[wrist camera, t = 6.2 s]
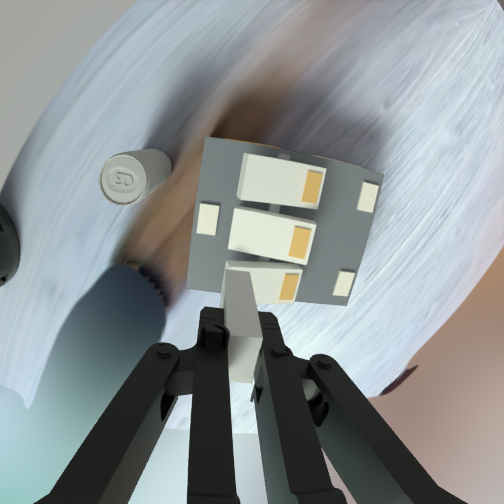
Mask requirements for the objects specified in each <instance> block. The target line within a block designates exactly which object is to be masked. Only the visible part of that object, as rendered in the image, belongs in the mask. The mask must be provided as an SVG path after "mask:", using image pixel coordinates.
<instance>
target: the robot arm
mask: <svg viewBox="0 0 504 504" xmlns="http://www.w3.org/2000/svg"><path fill="white" fill-rule="evenodd" d="M19 258H20V250H19V242H18V237H17V233H16V230H15V227H14V225H13V222H12V220H11V218H10V216H9V215H8V213H7V212H6V210H5V209H4V208H3V206H2V205H1V204H0V287H1V286H3V285H4V284H6V283H7V282H8V281H9V280H11V279H12V278H13V277H14V275H15V273H16V271H17V269H18V265H19ZM253 377H254V380H255V384H254V388H253V392H252V395H251V400H250V402H253V399H254V403H255V411H256V419H257V427H258V434H259V442H260V449H261V457H262V464H263V471H264V478H265V486H266V493H267V500H268V504H347V501H346V498H345V496H344V494H343V492H342V491H341V490H340V489H338V488H334V486H333V485H332V483H331V479H330V476H329V472H328V469H327V466H326V463H325V459H324V456H323V452H322V449H323V451H324V452H325V454H326V455H327V457H328V459H329V460H330V462H331V464H332V465H333V467H334V468H335V470H336V472H337V473H338V475H339V476H340V478H341V479H342V481H343V483H344V484H345V486H346V487H347V489H348V490H349V492H350V493H351V495H352V496H353V498H354V500H355V501H356V503H357V504H468V503H466V502H464V501H462V500H460V499H459V498H457V497H455V496H454V495H452V494H451V493H449V492H447V491H446V490H444V489H442V488H441V487H439V486H438V485H437V484H436V483H435V481H434V480H433V479H432V478H431V477H430V475H429V474H428V473H427V472H426V471H425V469H424V468H423V467H422V466H421V464H420V463H419V462H418V461H417V460H416V458H415V457H414V456H413V455H412V453H411V452H410V451H409V450H408V449H407V447H406V446H405V445H404V444H403V442H402V441H401V440H400V439H399V438H398V436H397V435H396V434H395V433H394V431H393V430H392V429H391V428H390V427H389V425H388V424H387V423H386V422H385V421H384V419H383V418H382V417H381V416H380V414H379V413H378V412H377V411H376V410H375V408H374V407H373V406H372V405H371V404H370V402H369V401H368V400H367V398H366V397H365V396H364V395H363V393H362V392H361V391H360V390H359V389H358V387H357V386H356V385H355V384H354V382H353V381H352V380H351V379H350V377H349V376H348V375H347V374H346V373H345V371H344V370H343V369H342V368H341V366H340V365H339V364H338V363H337V362H336V360H334V359H333V358H332V357H330V356H328V355H324V354H316V355H313V356H312V357H311V358H310V360H305V359H301V358H298V357H296V356H294V355H293V353H292V351H291V349H290V348H288V347H287V346H285V344H284V340H283V337H282V333H281V330H280V327H279V323H278V320H277V318H276V317H275V315H274V314H273V313H271V312H260V311H258V310H257V305H256V300H255V295H254V290H253V285H252V280H251V275H250V272H247V271H238V270H230V269H225V274H224V281H223V288H222V295H221V302H220V308H214V307H206V306H205V307H204V308H203V309H202V310H201V311H200V320H199V329H198V337H197V343H196V344H195V346H193V347H192V348H189V349H186V350H178V348H177V347H176V346H174V345H172V344H170V343H165V342H161V343H156V344H153V345H152V346H151V347H149V349H148V350H147V351H146V353H145V354H144V356H143V357H142V358H141V360H140V361H139V362H138V364H137V366H136V367H135V368H134V370H133V371H132V372H131V374H130V375H129V377H128V378H127V379H126V381H125V382H124V384H123V385H122V387H121V388H120V389H119V391H118V392H117V394H116V395H115V397H114V398H113V399H112V401H111V402H110V404H109V405H108V407H107V408H106V409H105V411H104V412H103V414H102V415H101V417H100V418H99V420H98V421H97V423H96V424H95V425H94V427H93V428H92V430H91V431H90V433H89V434H88V436H87V437H86V439H85V440H84V442H83V443H82V445H81V446H80V448H79V449H78V451H77V452H76V454H75V455H74V457H73V458H72V460H71V461H70V463H69V464H68V466H67V467H66V469H65V470H64V472H63V473H62V475H61V477H60V478H59V480H58V481H57V482H56V484H55V486H54V487H53V489H52V490H51V492H50V493H49V494H48V495H46V496H45V497H43V498H42V499H40V500H38V501H37V502H35V503H34V504H128V502H129V500H130V497H131V495H132V493H133V491H134V489H135V487H136V485H137V483H138V480H139V479H140V476H141V474H142V472H143V470H144V468H145V466H146V463H147V462H148V460H149V457H150V456H151V453H152V451H153V449H154V447H155V445H156V443H157V441H158V439H159V437H160V435H161V433H162V431H163V429H164V426H165V424H166V422H167V420H168V418H169V416H170V414H171V412H172V410H173V408H174V406H175V404H176V402H177V399H178V396H180V395H188V394H193V395H192V408H191V423H190V440H189V460H188V487H187V504H240V499H239V497H238V496H237V493H236V482H235V469H234V454H233V440H232V423H231V406H230V387H229V382H240V383H252V381H253ZM321 447H322V449H321Z"/></svg>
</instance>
